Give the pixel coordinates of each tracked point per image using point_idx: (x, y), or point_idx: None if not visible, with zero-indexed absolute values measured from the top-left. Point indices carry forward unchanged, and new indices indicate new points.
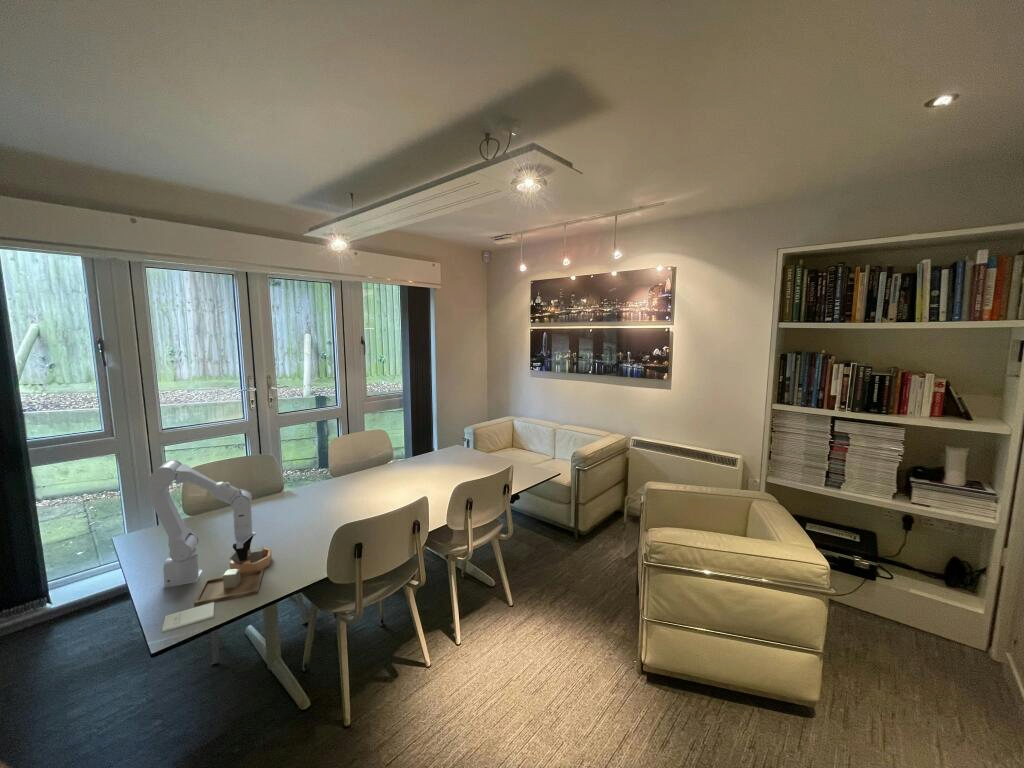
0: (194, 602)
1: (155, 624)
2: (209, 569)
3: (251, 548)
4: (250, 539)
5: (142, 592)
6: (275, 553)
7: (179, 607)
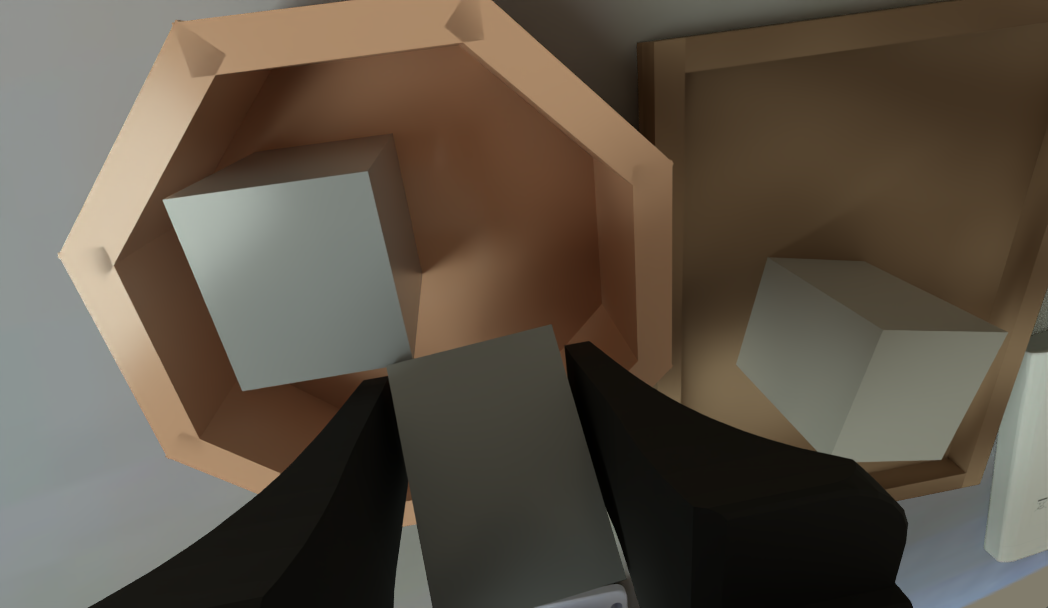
0: (977, 482)
1: (1018, 564)
2: (422, 585)
3: (142, 398)
4: (310, 574)
5: None
6: (52, 11)
7: (908, 534)
